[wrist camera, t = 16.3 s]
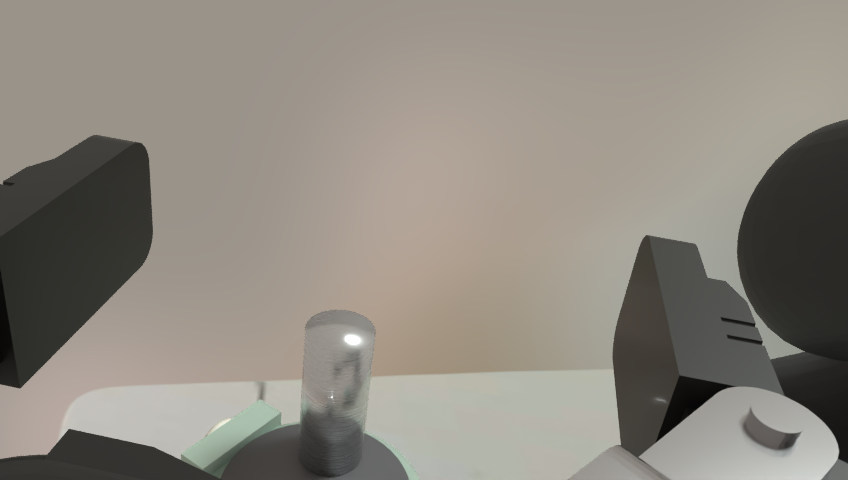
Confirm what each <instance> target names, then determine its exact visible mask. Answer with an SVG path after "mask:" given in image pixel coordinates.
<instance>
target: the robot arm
mask: <svg viewBox="0 0 848 480" xmlns="http://www.w3.org/2000/svg"><path fill="white" fill-rule="evenodd" d="M152 235H153V226H152V209H151V189H150V170H149V158H148V153H147V150H146V148H145V147H144V146H143V144H141V143H138V142H132V141H127V140H121V139H116V138H110V137H105V136H99V135H93V136H91V137H89V138H87V139H86V140H84V141H82V142H81V143H79V144H78V145H76V146H74V147H73V148H71V149H70V150H68V151H66V152H65V153H63V154H62V155H60V156H58V157H57V158H55V159H52V160H49V161H46V162H42V163H40V164H36V165H33V166H29V167H26V168H25V169H23V170H21V171H20V172H18V173H16V174H15V175H13V176H11V177H10V178H8V179H7V180H5V181H4V182H3V185H1V184H0V384H2V385H7V386H12V387H16V388H21V387H22V386H23V385H24V384H25V383H26V382H27V381H28V380H29V379H30V378H31V377H32V376H33V375H34V374H35V373H36V372H37V371H38V370H39V369H40V368H41V367H42V366H43V365H44V364H45V363H46V362H47V361H48V360H49V359H50V358H51V357H52V356H53V355H54V354H55V353H56V352H57V351H58V350H59V349H60V348H61V347H62V346H63V345H64V344H65V343H66V342H67V341H68V340H69V339H70V338H71V337H72V336H73V335H74V334H75V333H76V331H78V330H79V329H80V328H81V327H82V326H83V325H84V324H85V323H86V322H87V321H88V320H89V319H90V317H92V316H93V315H94V314H95V313H96V311H98V309H100V307H101V306H103V304H105V302H107V300H108V299H109V298H110V297H111V296H112V295H113V294H114V293H115V292H116V291H117V290H118V289H119V288H120V287H121V286H122V285H123V284H124V283H125V282H126V281H127V280H128V279H129V278H130V277H131V276H132V275H133V274H134V273H135V272H136V271H137V270H138V269H139V268H140V267H141V266H142V265H143V263H144V262H145V260H146V258H147V256H148V253H149V250H150V247H151V243H152ZM737 246H738V247H737V255H738V256H737V258H738V266H739V272H740V278H741V281H742V284H743V287H744V290H745V292H746V295H747V297H748V299H749V301H750V303H751V304H752V306H753V308H754V310H755V312H756V313H757V314H758V315H759V317H760V318H761V319H762V320H763V322H764V323H765V324H766V325H767V327H768V328H770V329H771V330H772V331H773V332H774V333H776V334H777V335H778V336H779V337H780V338H782V339H783V340H784V341H786V342H788V343H790V344H791V345H793V346H795V347H797V348H799V349H801V350H803V351H805V352H802V353H799V354H794V355H789V356H785V357H780V358H776V359H771V360H770V358H769V356H768V353H767V351H766V348H765V346H762V342H763V341H762V338H761V336H760V334H759V331H758V328H755V321H754V318H753V316H752V314H751V311H750V308H749V306H748V304H747V302H746V301H745V300H744V299H743V298H742V297H741V296H740V295H739V294H738V293H737V292H736V291H735V290H734V289H733V288H732V287H731V286H730V285H729V284H728V283H727V282H726V281H721V280H715V279H710V278H707V275H706V272H705V269H704V266H703V263H702V260H701V257H700V254H699V251H698V248H697V246H696V245H695V244H693V243H687V242H682V241H676V240H671V239H665V238H660V237H654V236H648V235H646V236H645V237H644V238H643V240H642V242H641V244H640V247H639V250H638V253H637V257H636V260H635V263H634V267H633V270H632V274H631V277H630V280H629V284H628V287H627V291H626V294H625V297H624V301H623V304H622V308H621V311H620V315H619V318H618V321H617V326H616V331H615V336H614V343H613V366H614V377H615V387H616V398H617V408H618V418H619V428H620V439H621V445H616V446H613V447H611V448H609V449H608V450H606V451H605V452H603V453H602V454H601V455H599V456H598V457H597V458H595V459H594V460H593V461H591V462H590V463H589V464H587V465H586V466H585V467H584V468H582V469H581V470H580V471H578V472H577V473H576V474H574V475H573V476H572V477H570V478H569V479H568V480H848V120H843V121H839V122H836V123H833V124H830V125H827V126H824V127H822V128H820V129H818V130H816V131H814V132H812V133H810V134H808V135H807V136H805V137H803V138H802V139H800V140H799V141H798V142H796V143H795V144H793V145H792V146H791V147H790V148H789V149H787V150H786V151H785V152H784V153H783V154H782V155H781V156H780V157H779V158H778V159H777V160H776V161H775V162H774V163H773V164H772V166H771V167H770V168H769V169H768V170H767V172H766V173H765V175H764V176H763V178H762V179H761V181H760V182H759V184H758V185H757V186H756V188H755V190H754V192H753V194H752V196H751V198H750V200H749V202H748V204H747V206H746V209H745V212H744V215H743V218H742V222H741V225H740V229H739V235H738V245H737ZM0 480H222V479H220V478H218V477H216V476H213V475H211V474H209V473H207V472H205V471H203V470H201V469H199V468H197V467H194V466H192V465H190V464H188V463H186V462H184V461H182V460H180V459H177V458H175V457H173V456H171V455H169V454H167V453H165V452H163V451H161V450H158V449H156V448H154V447H151V446H146V445H141V444H137V443H132V442H127V441H123V440H118V439H113V438H109V437H104V436H99V435H95V434H90V433H85V432H81V431H76V430H71V429H69V430H68V431H67V432H66V433H65V434H64V436H63V437H62V438H61V439H60V440H59V442H58V443H57V444H56V445H55V446H54V447H53V449H52V450H51V451H50V452H49V453H48V455H30V456H17V457H11V458H5V459H0Z"/></svg>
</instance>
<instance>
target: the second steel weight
mask: <svg viewBox="0 0 848 480" xmlns="http://www.w3.org/2000/svg"><path fill="white" fill-rule="evenodd" d="M375 332H376V331H375V327H374V325H373V324H372V322H371V321H370V320H368V319H367V318H366V317H364V316H363V315H360V314H358V313H355V312H351V311H346V310H330V311H325V312H321V313H319V314H317V315H315V316H313V317H312V318H311V319H310V320H309V321H308V322H307V324H306V327H305V343H304V360H303V377H302V395H301V412H300V429H299V447H298V457H299V460H300V462H301V464H302V465H303V466H304V467H305V468H306V469H307V470H308V471H310V472H312V473H314V474H316V475H319V476H324V477H337V476H342V475H345V474H347V473H349V472H351V471H353V470H354V469H355V468H356V467H357V466H358V465H359V463H360V461H361V458H362V450H363V441H364V432H365V423H366V414H367V405H368V396H369V387H370V378H371V369H372V360H373V351H374V342H375Z"/></svg>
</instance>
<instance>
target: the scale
mask: <svg viewBox="0 0 848 480" xmlns="http://www.w3.org/2000/svg"><path fill="white" fill-rule="evenodd" d="M299 429H300V422H297V423H291V424H285V425H281V412H280V411H278V410H277V409H275V408H273V407H272V406H270V405H269V404H267V403H265V402H264V401H262V400H259V401H257V402H256V403H254V404H253V405H251V406H250V407H249V408H247V409H246V410H244V411H243V412H241V413H240V414H238V415H237V416H235V417H234V418H233V419H232V418H228V419H224V420H222V421H220V422H219V423H217V424H216V425H215V426H214V427H213V428H212V429H211V430H210V431H209V432H208V433H207V435H206V436H205V438H203V439H202V440H200V441H199V442H198V443H196V444H195V445H193V446H192V447H190V448H189V449H187V450H186V451H184V452H183V453H182V454H181V460H182V461H184V462H186V463H188V464H190V465H192V466H194V467H197V468H199V469H201V470H203V471H205V472H207V473H209V474H211V475H213V476H216V477H218V478H220V479H222V480H420V479H419V477H418V475H417V473H416V471H415V470H414V468H413V467H412V466H411V464H410V463H409V461H408V460H407V459H406V458H405V457H404V456H403V455H402V454H401V453H400V452H399V451H398V450H397V449H395V448H394V447H393V446H392V445H390V444H389V443H387V442H386V441H384V440H383V439H381V438H379V437H377V436H375V435H373V434H372V433H369V432H367V431H365V432H364V441H363V450H362V458H361V461H360V463H359V465H358V466H357V467H356V468H355V469H354V470H353V471H351V472H349V473H347V474H345V475H342V476H337V477H324V476H319V475H316V474H314V473H312V472H310V471H308V470H307V469H306V468H305V467H304V466H303V465H302V464H301V462H300V460H299V457H298V447H299Z"/></svg>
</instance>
